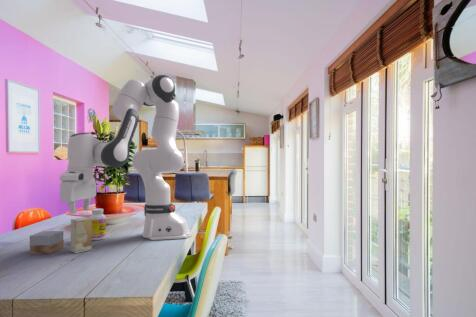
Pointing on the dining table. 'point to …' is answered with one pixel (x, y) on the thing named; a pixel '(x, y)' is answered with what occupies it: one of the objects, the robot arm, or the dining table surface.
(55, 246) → the tower base
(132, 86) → the robot arm
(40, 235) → the tower top
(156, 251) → the dining table surface
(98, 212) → the supplement bottle
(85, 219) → the skincare box
